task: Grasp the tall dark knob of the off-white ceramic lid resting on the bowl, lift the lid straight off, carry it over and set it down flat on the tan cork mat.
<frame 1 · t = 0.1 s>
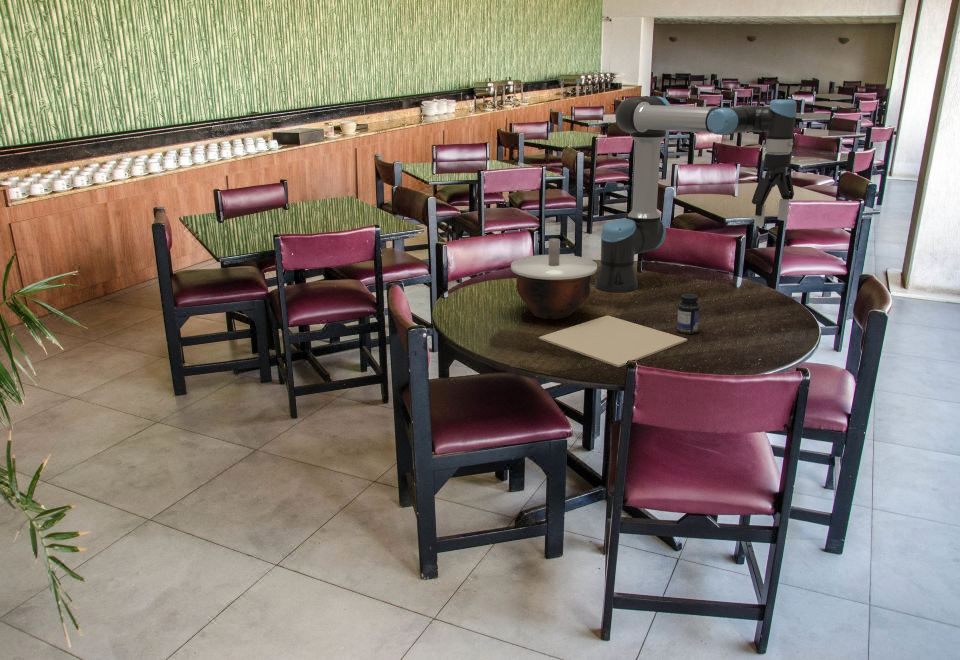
hand: (770, 223, 237), 28 cm above the table, fingers open, 13 cm apart
bowl: (553, 314, 245), on the table, touching lid
lid: (553, 268, 240), point 15 cm above the table, touching bowl
mat: (612, 339, 221), on the table
pill bottle: (687, 332, 227), on the table
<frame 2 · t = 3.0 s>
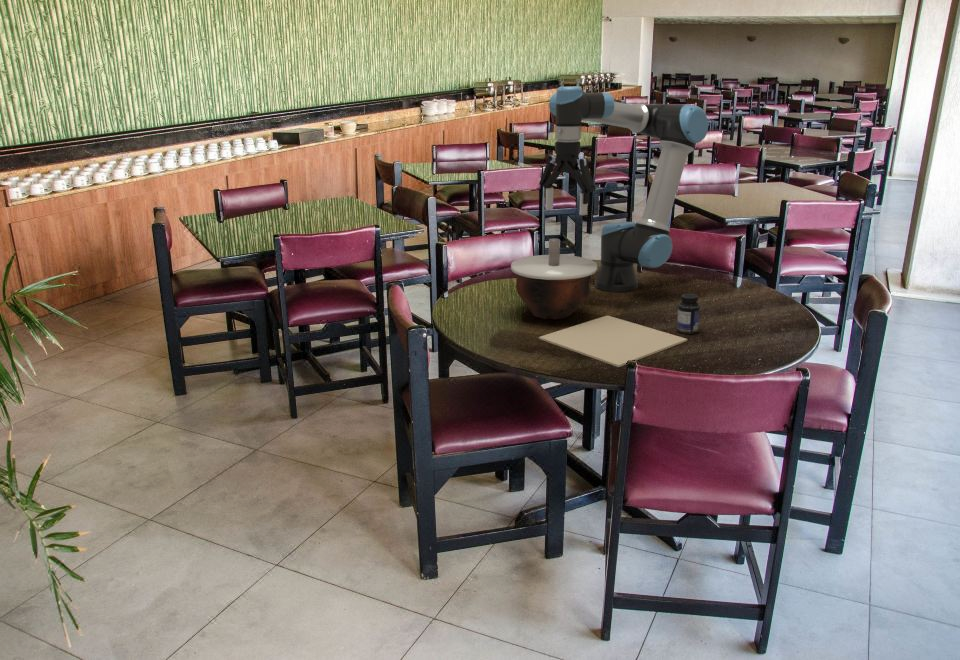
hand: (565, 211, 234), 33 cm above the table, fingers open, 13 cm apart
nothing on the table moved.
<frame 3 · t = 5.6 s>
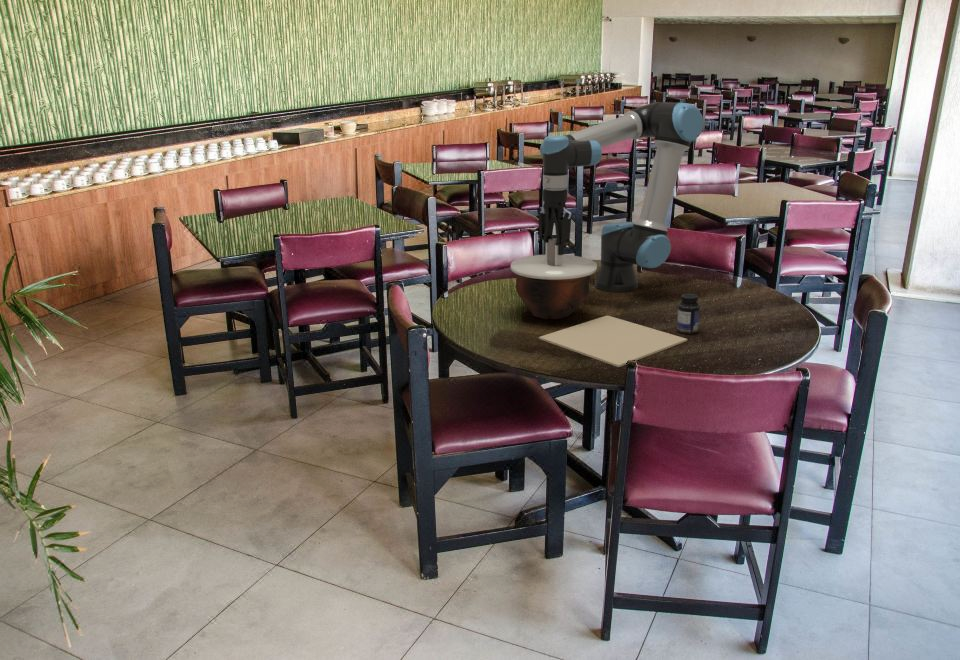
hand: (553, 263, 239), 17 cm above the table, fingers closed on lid, 3 cm apart
lid: (553, 268, 240), point 15 cm above the table, touching bowl, gripper
everything else where it was.
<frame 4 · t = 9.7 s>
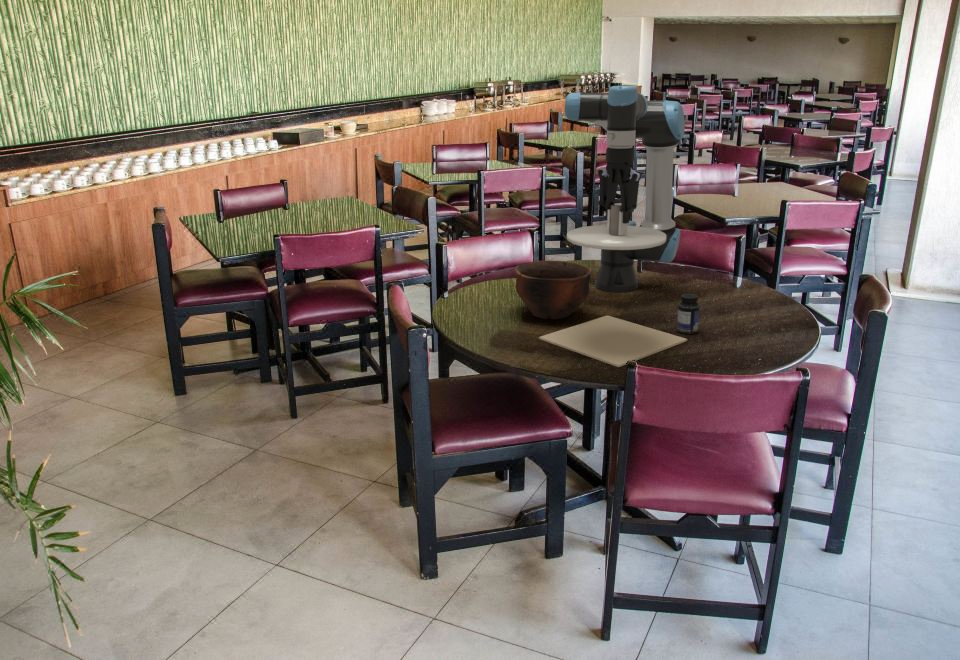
hand: (616, 233, 210), 31 cm above the table, fingers closed on lid, 3 cm apart
bowl: (552, 314, 245), on the table
lid: (616, 238, 211), point 30 cm above the table, touching gripper
everything else where it was.
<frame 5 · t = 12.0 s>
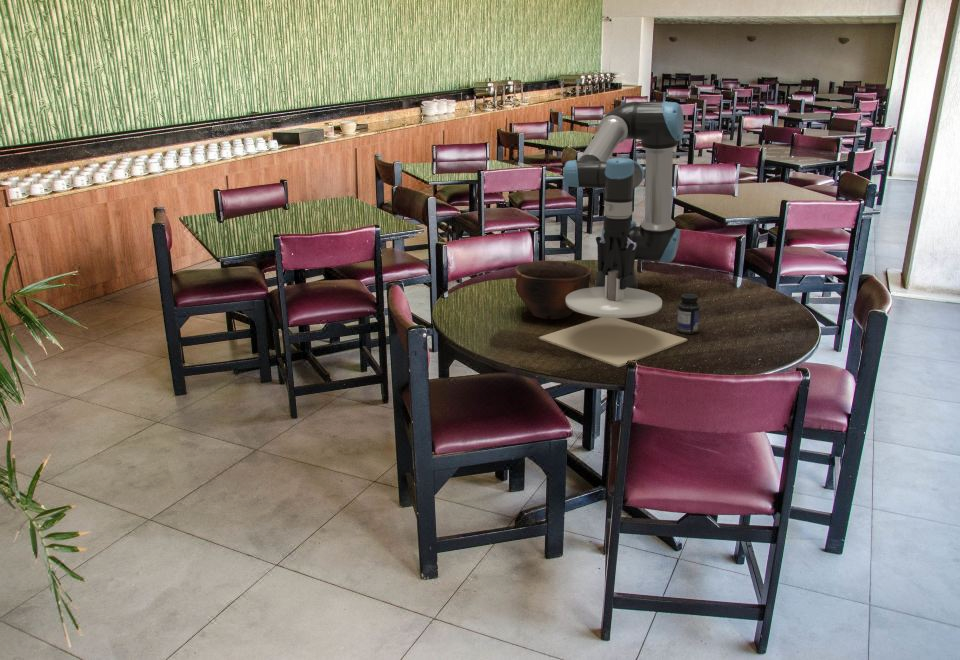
hand: (614, 298, 217), 13 cm above the table, fingers closed on lid, 3 cm apart
lid: (613, 303, 217), point 11 cm above the table, touching gripper
everything else where it was.
when the fingers open (4 cm above the table, at t = 13.9 s): lid drops 2 cm, resting on mat.
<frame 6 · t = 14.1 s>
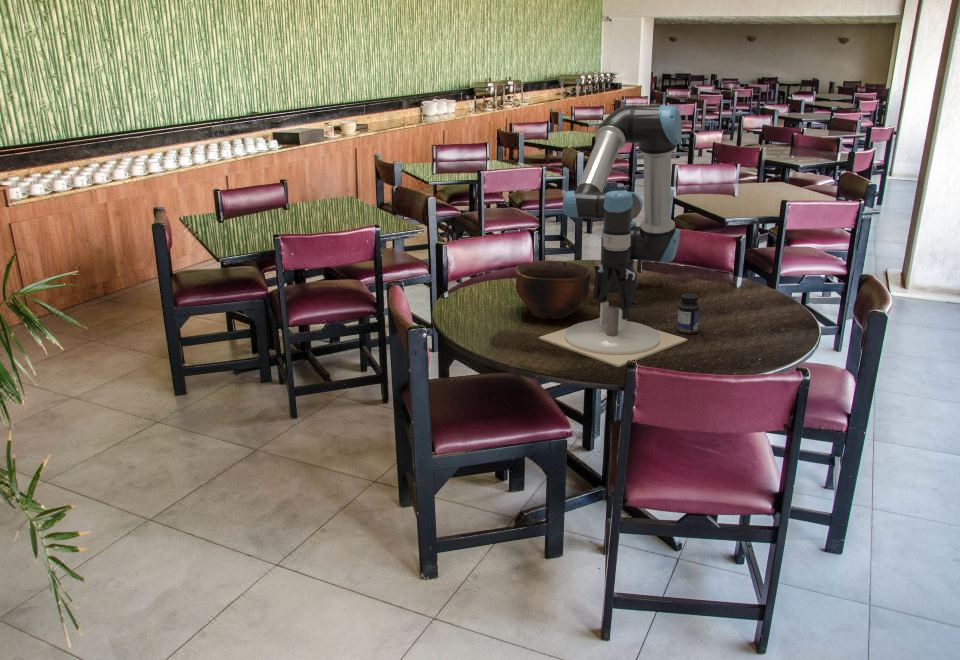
hand: (612, 326, 219), 4 cm above the table, fingers open, 6 cm apart
lid: (611, 338, 220), point 1 cm above the table, touching mat
everything else where it was.
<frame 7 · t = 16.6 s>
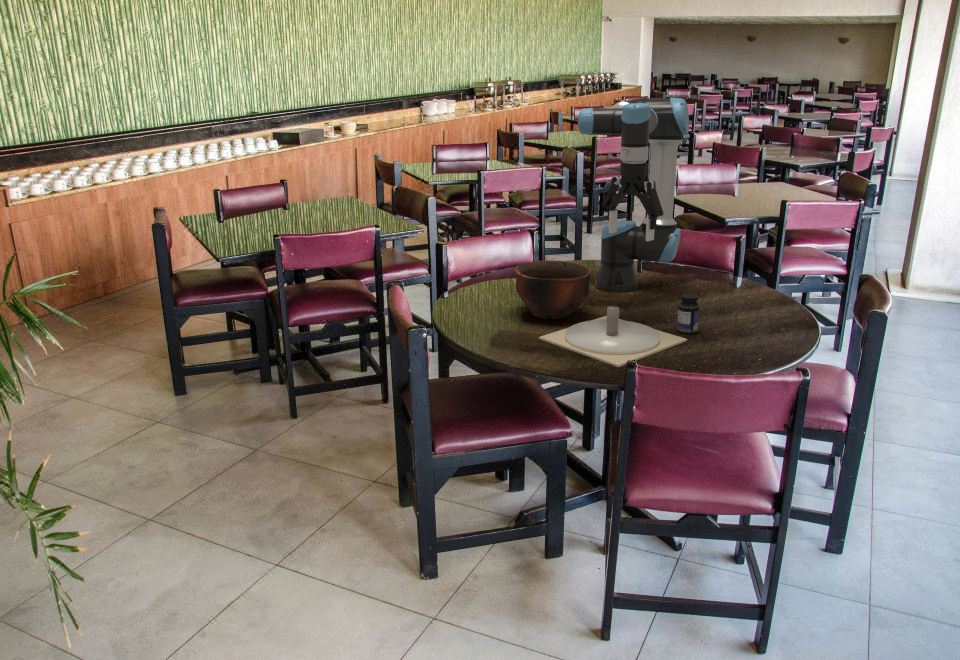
hand: (630, 236, 219), 28 cm above the table, fingers open, 13 cm apart
nothing on the table moved.
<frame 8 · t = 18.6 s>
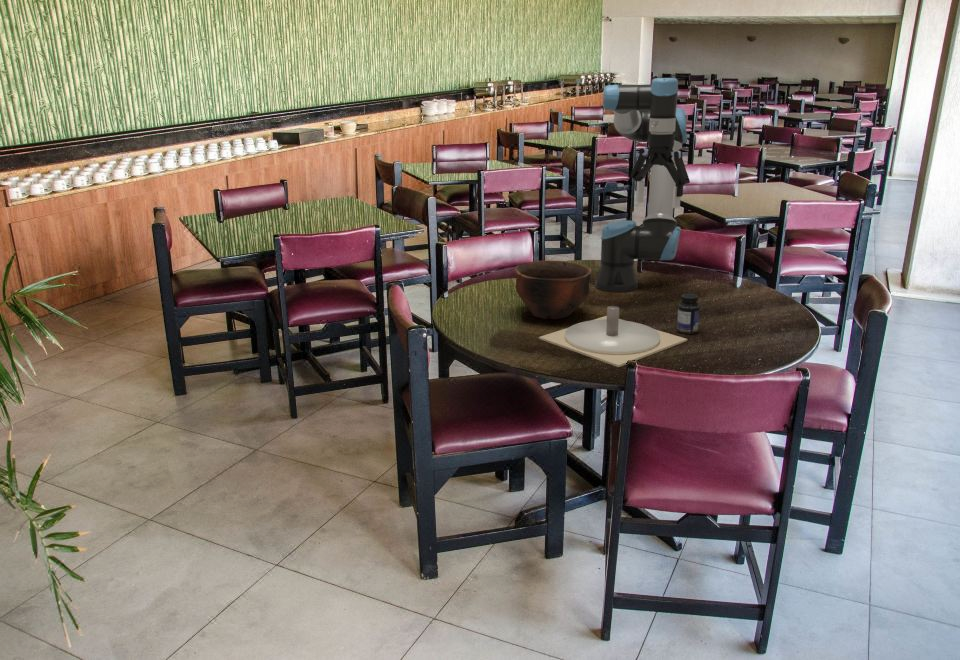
hand: (657, 204, 232), 35 cm above the table, fingers open, 13 cm apart
nothing on the table moved.
at the end: lid inside the target area on the mat (0.2 cm from its centre), point 0.6 cm above the mat's base; lid tilted 0°; lid touching mat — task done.
